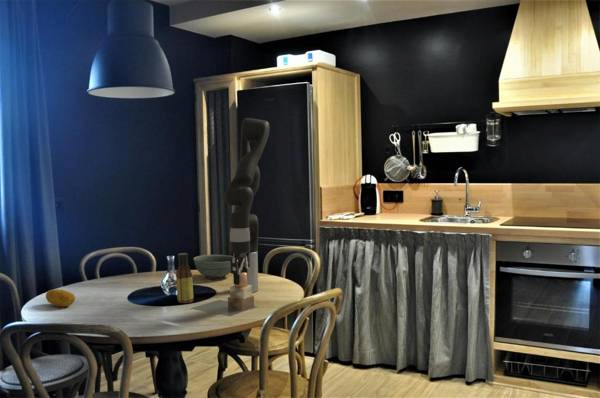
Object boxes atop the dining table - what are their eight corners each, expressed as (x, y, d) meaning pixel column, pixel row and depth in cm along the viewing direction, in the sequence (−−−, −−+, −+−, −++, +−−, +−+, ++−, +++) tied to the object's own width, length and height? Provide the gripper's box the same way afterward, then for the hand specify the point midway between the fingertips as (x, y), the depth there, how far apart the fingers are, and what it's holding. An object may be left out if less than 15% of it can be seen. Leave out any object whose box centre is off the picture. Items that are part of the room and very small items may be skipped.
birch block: (230, 297, 216) (229, 287, 216) (238, 294, 222) (238, 284, 221) (243, 299, 214) (243, 288, 213) (251, 295, 219) (251, 285, 219)
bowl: (195, 274, 286) (194, 254, 286) (237, 273, 288) (237, 253, 288) (192, 283, 266) (191, 261, 265) (237, 281, 268) (237, 260, 267)
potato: (61, 310, 218) (60, 293, 218) (42, 305, 226) (41, 288, 226) (79, 306, 224) (79, 289, 224) (60, 301, 233) (59, 285, 232)
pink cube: (231, 286, 217) (231, 273, 216) (240, 284, 221) (240, 271, 220) (241, 288, 214) (241, 274, 214) (249, 285, 218) (249, 272, 218)
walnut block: (228, 307, 217) (227, 297, 217) (240, 303, 223) (240, 293, 222) (242, 310, 213) (241, 299, 213) (254, 306, 219) (254, 295, 218)
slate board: (190, 310, 217) (190, 308, 217) (219, 301, 230) (219, 299, 230) (229, 318, 205) (229, 316, 205) (258, 308, 218) (258, 306, 218)
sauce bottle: (196, 301, 230) (195, 252, 229) (188, 305, 224) (187, 255, 223) (182, 300, 232) (180, 252, 231) (173, 304, 226) (172, 254, 225)
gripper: (242, 242, 208) (243, 286, 209) (255, 237, 222) (256, 278, 223) (223, 241, 210) (224, 285, 211) (237, 236, 224) (238, 277, 225)
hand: (240, 282), depth 217 cm, fingers open, 8 cm apart
